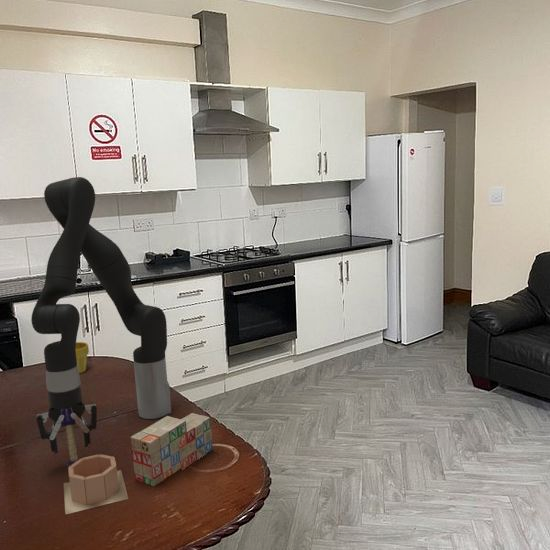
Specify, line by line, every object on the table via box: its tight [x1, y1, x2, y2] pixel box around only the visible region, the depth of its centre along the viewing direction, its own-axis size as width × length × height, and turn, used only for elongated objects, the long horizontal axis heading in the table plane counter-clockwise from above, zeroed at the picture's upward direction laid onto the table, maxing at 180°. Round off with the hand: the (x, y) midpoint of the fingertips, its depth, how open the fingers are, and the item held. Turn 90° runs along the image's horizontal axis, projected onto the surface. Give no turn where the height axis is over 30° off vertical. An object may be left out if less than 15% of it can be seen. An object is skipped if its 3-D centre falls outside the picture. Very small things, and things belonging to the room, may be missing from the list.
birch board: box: [63, 469, 129, 515], centre depth 125 cm, size 13×13×1 cm
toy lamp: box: [60, 407, 80, 467], centre depth 136 cm, size 5×5×17 cm
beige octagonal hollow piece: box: [67, 453, 119, 505], centre depth 124 cm, size 10×10×6 cm
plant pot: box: [76, 341, 90, 374], centre depth 204 cm, size 10×10×10 cm
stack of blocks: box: [130, 412, 213, 488], centre depth 135 cm, size 21×6×12 cm, turn 147°
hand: (71, 448), depth 136 cm, fingers open, 6 cm apart
